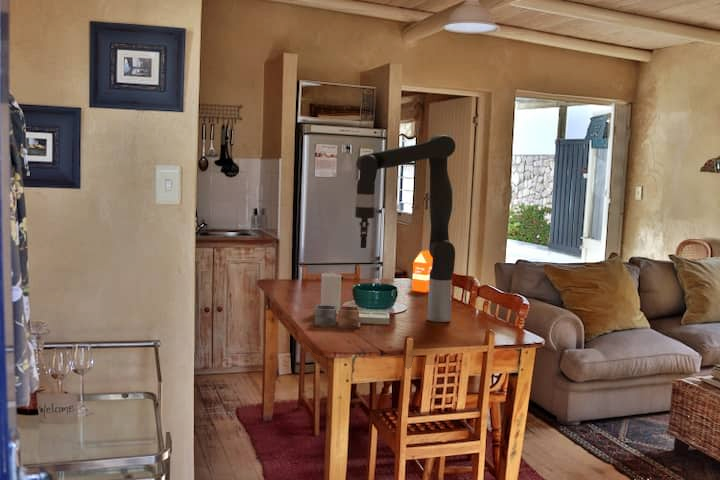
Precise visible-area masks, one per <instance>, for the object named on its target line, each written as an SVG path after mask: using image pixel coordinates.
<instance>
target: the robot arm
mask: <svg viewBox="0 0 720 480" xmlns="http://www.w3.org/2000/svg"><path fill="white" fill-rule="evenodd" d="M455 149H456V142H455V141H454V139H453V138H452V137H451V136H449V135H446V134H438V135H434V136H432V137H431V139H429V140H428V141H427V142H422V143H419V144H412V145H405V146H398V147H394V148H390V149H389V148H388V149H385V150H383V151H378V152H373V153H372V152H371V153H366V154H362V155H360V156H358V157H357V160H356V164H355V165H356V168H357V169H358V171H359V178H358V181H357V183H356V196H355V209H354V210H355V213H354V214H355V215H354V216H355V218H356V219H361V221H359V223H358V224H359V225H358V226H359V234H360V235H359V237H360V248H361V249H366V248H367V243H368V242H367V239H368V234H369V229H370V222H369V219H374V218H375V206H376V205H375V203H376V201H375V200H376V197H375V196H376V195H375V192H376V189H375V188H376V184H375V183H376V180H377V179H376V178H377V174H378V170H381V169H391V168H394V167H398V166H403V165H407V164H410V163H413V162H417V161H421V160H428V162H429V215H430V217H429V218H430V219H429V220H430V235H429V236H430V237H429V245H428V250H429V252H430V255H431V257H432V258H433V261H432V269H431V271H430V276H429V291H428V297H427V299H428V302H427V314H426V316H427V317H426V318H427V319H426V320H428V321H431V322H435V323H446V322H451V319H452V315H451V314H452V301H453V299H452V288H453V287H452V284H453V275H454V272H455V265H456V264H455V263H456V249H455V246H454V244H453V243H452V242H450V236H449V224H450V219H451V217H452V211H453V188H452V183H451V180H450V176H449V173H448V158H449V157H451V156H452V155H454V152H455Z"/></svg>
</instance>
